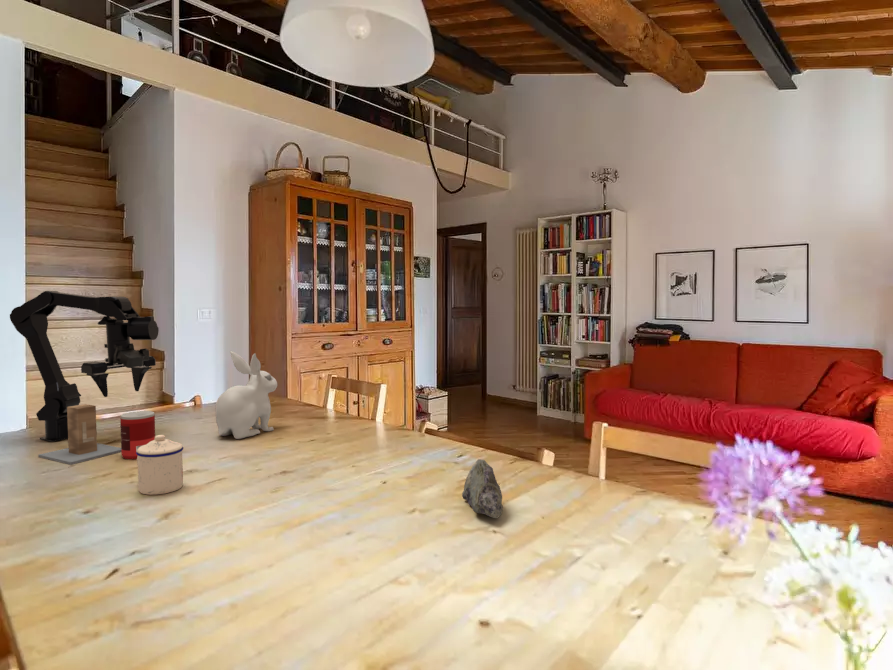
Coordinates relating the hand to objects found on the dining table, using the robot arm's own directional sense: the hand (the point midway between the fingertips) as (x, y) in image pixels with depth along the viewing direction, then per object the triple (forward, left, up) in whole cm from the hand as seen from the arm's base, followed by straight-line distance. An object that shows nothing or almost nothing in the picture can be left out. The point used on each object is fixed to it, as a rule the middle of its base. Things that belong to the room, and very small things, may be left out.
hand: (121, 393), depth 163 cm
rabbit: (+27, +22, -13) cm, 37 cm away
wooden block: (+6, -15, -13) cm, 20 cm away
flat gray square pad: (+6, -15, -13) cm, 21 cm away
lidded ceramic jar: (+46, -23, -13) cm, 53 cm away
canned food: (+20, -9, -13) cm, 25 cm away
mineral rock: (+114, -2, -13) cm, 114 cm away
